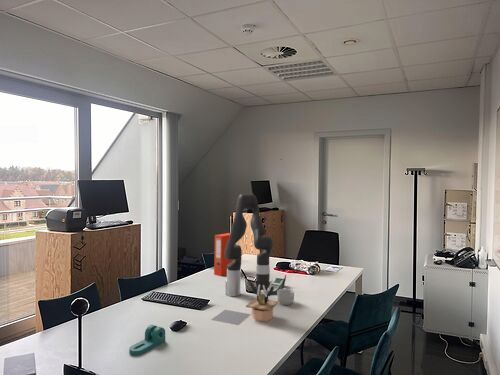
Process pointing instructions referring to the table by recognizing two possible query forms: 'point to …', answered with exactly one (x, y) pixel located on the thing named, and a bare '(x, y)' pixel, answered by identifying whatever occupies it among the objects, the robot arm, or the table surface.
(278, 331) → the table surface
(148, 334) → the bracket
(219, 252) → the file binder
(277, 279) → the communication device
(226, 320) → the mat
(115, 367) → the table surface
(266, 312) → the bowl
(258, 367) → the table surface
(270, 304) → the lid
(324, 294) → the table surface
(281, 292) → the teacup
